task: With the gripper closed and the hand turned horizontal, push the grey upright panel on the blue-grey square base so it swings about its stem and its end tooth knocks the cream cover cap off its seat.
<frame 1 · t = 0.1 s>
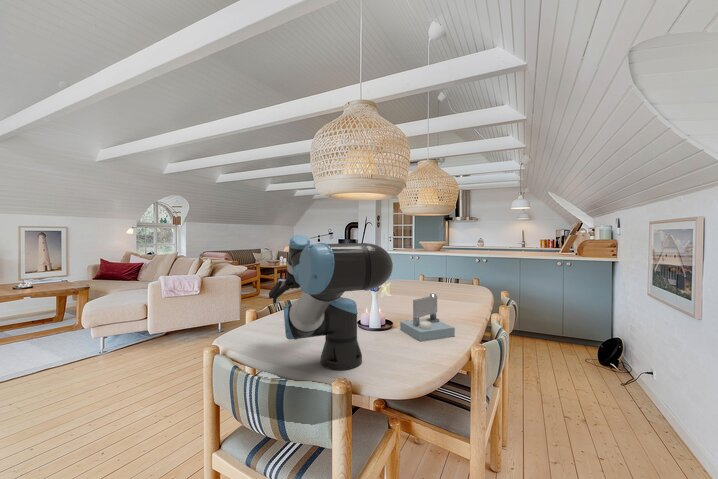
hand: (292, 306, 135), 15 cm above the table, fingers open, 13 cm apart
grey upright panel: (425, 308, 147), point 11 cm above the table, hinge at 0.0°
blue-grey square base: (426, 332, 145), on the table
cover cap: (425, 327, 140), point 4 cm above the table, touching blue-grey square base
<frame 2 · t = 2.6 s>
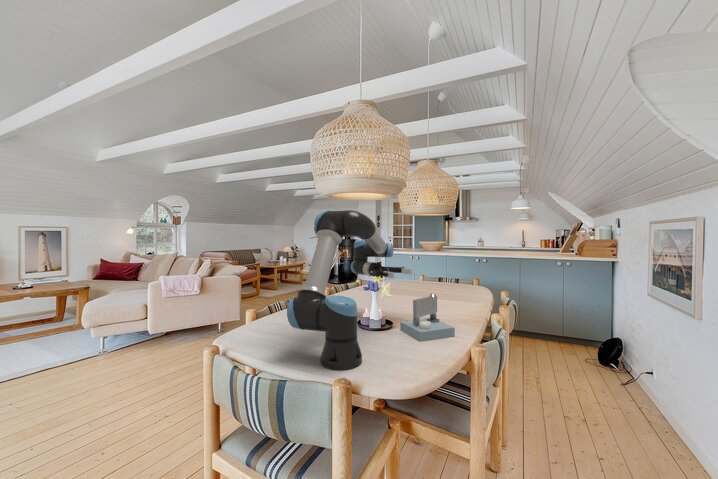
hand: (403, 273, 152), 27 cm above the table, fingers open, 13 cm apart
nothing on the table moved.
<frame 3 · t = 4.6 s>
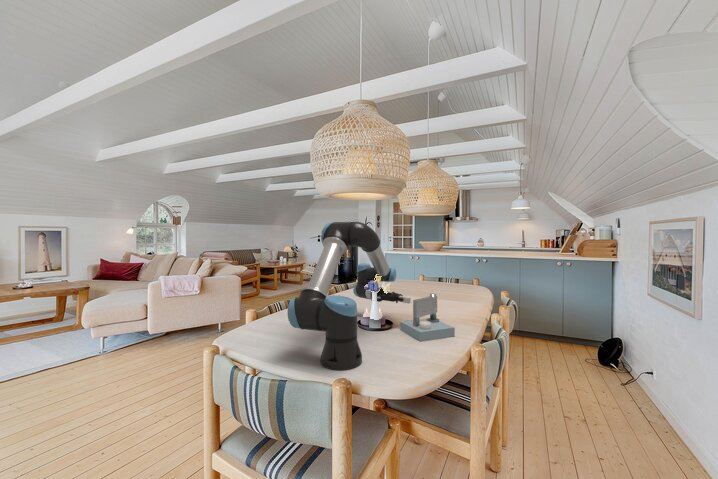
hand: (409, 300, 151), 14 cm above the table, fingers closed
nothing on the table moved.
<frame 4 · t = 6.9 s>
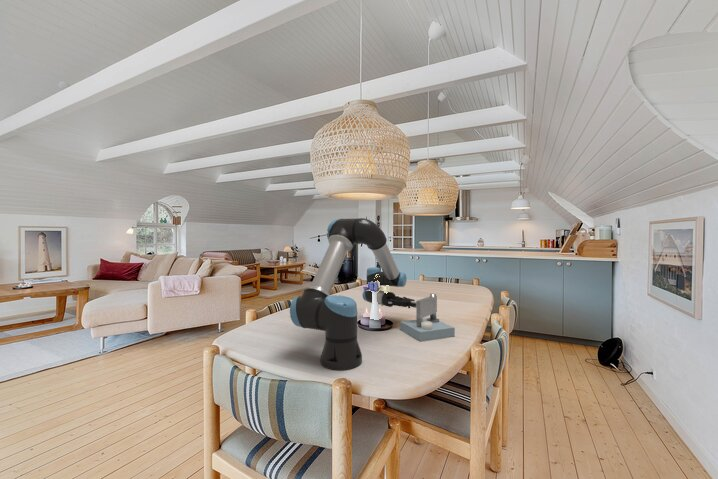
hand: (422, 306, 146), 12 cm above the table, fingers closed
grey upright panel: (427, 309, 147), point 11 cm above the table, hinge at 7.9°, touching cover cap, gripper
cover cap: (426, 328, 140), point 4 cm above the table, touching grey upright panel, blue-grey square base
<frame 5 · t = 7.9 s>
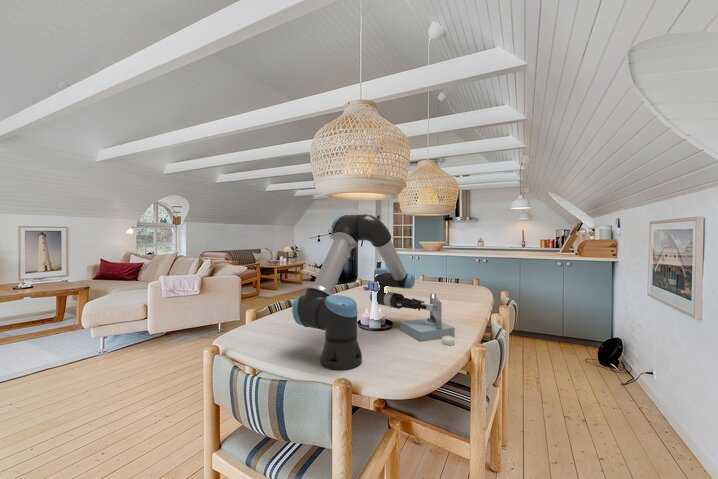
hand: (433, 308, 142), 12 cm above the table, fingers closed
grey upright panel: (435, 309, 145), point 11 cm above the table, hinge at 46.5°, touching gripper
cover cap: (448, 337, 131), point 2 cm above the table, tilted 178°
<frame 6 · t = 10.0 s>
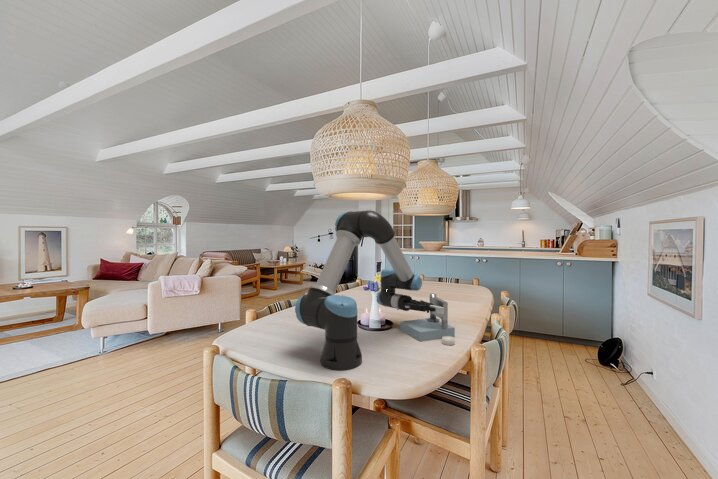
hand: (442, 310, 137), 12 cm above the table, fingers closed
grey upright panel: (438, 309, 145), point 11 cm above the table, hinge at 58.1°, touching gripper
everything else where it was.
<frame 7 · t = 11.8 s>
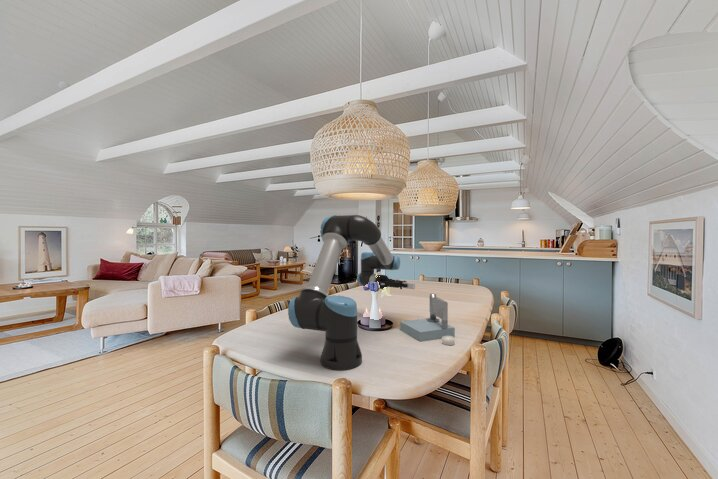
hand: (413, 286, 149), 21 cm above the table, fingers closed
grey upright panel: (438, 309, 145), point 11 cm above the table, hinge at 58.1°
everything else where it was.
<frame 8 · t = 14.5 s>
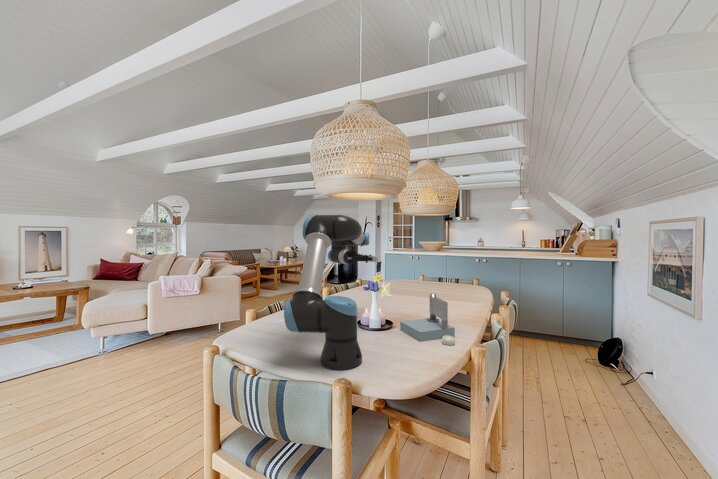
hand: (378, 259, 154), 34 cm above the table, fingers closed
nothing on the table moved.
at the end: grey upright panel at +58° (first picture: +0°); cover cap moved 12.2 cm from its start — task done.
